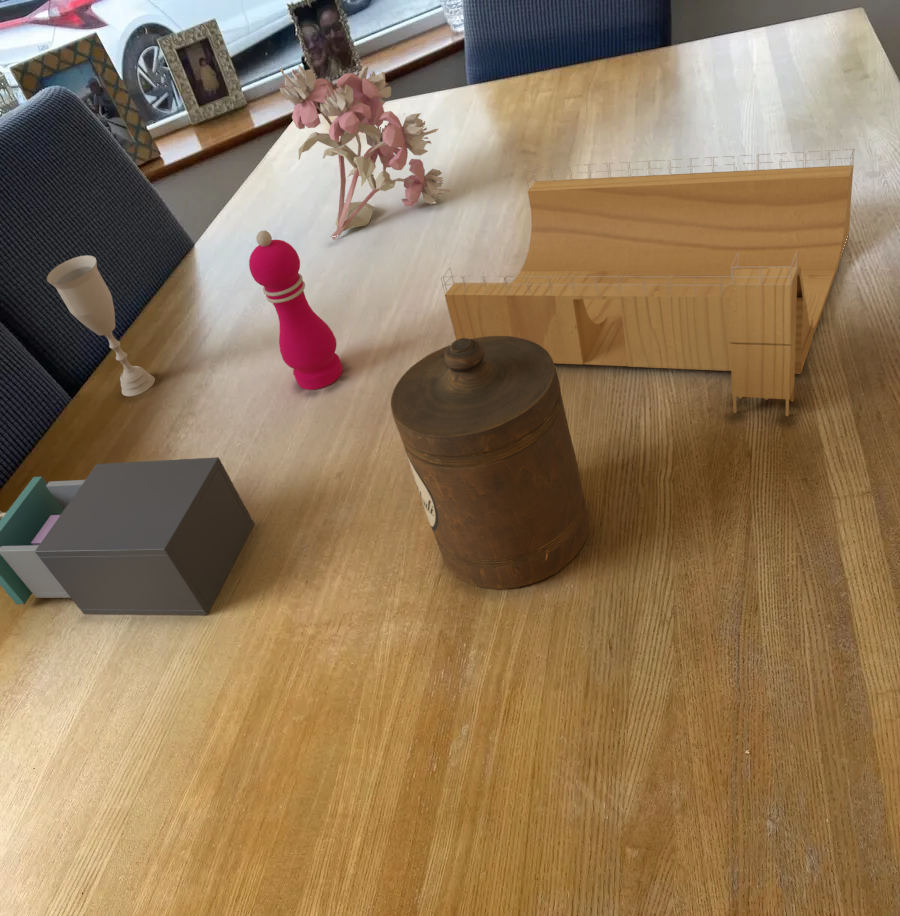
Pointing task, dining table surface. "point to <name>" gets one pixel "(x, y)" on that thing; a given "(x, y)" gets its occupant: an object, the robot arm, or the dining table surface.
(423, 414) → the wooden container
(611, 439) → the dining table surface
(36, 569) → the drawer
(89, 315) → the chalice
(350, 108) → the flower
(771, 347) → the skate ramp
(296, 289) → the pepper mill
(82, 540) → the cabinet
